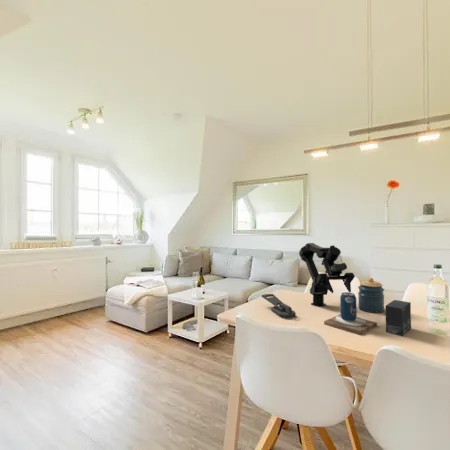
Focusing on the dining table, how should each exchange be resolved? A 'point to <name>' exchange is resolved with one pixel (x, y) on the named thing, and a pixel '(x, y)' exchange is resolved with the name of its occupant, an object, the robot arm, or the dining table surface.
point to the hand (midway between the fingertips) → (341, 292)
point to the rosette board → (351, 324)
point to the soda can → (348, 306)
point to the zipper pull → (279, 307)
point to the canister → (371, 296)
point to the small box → (398, 317)
